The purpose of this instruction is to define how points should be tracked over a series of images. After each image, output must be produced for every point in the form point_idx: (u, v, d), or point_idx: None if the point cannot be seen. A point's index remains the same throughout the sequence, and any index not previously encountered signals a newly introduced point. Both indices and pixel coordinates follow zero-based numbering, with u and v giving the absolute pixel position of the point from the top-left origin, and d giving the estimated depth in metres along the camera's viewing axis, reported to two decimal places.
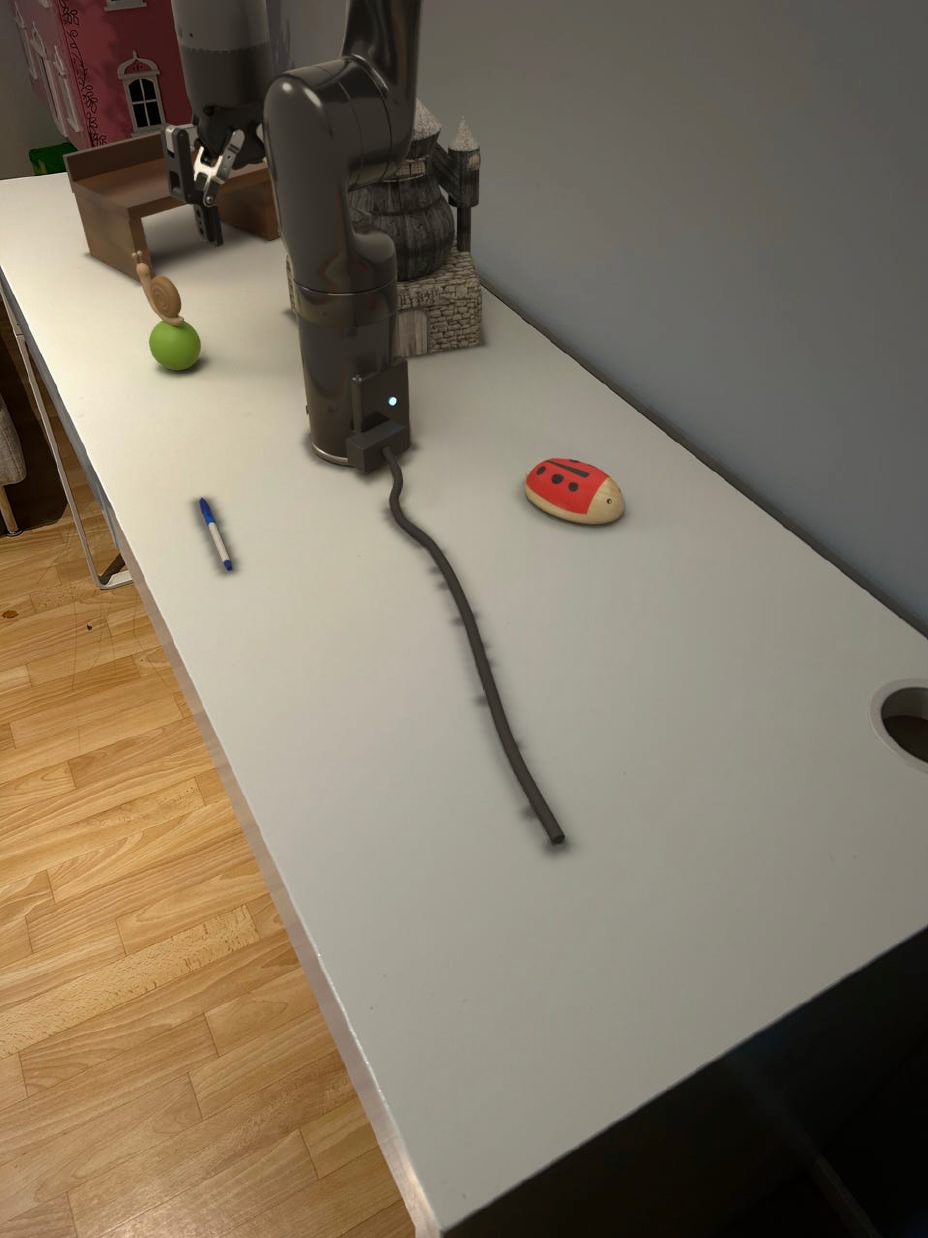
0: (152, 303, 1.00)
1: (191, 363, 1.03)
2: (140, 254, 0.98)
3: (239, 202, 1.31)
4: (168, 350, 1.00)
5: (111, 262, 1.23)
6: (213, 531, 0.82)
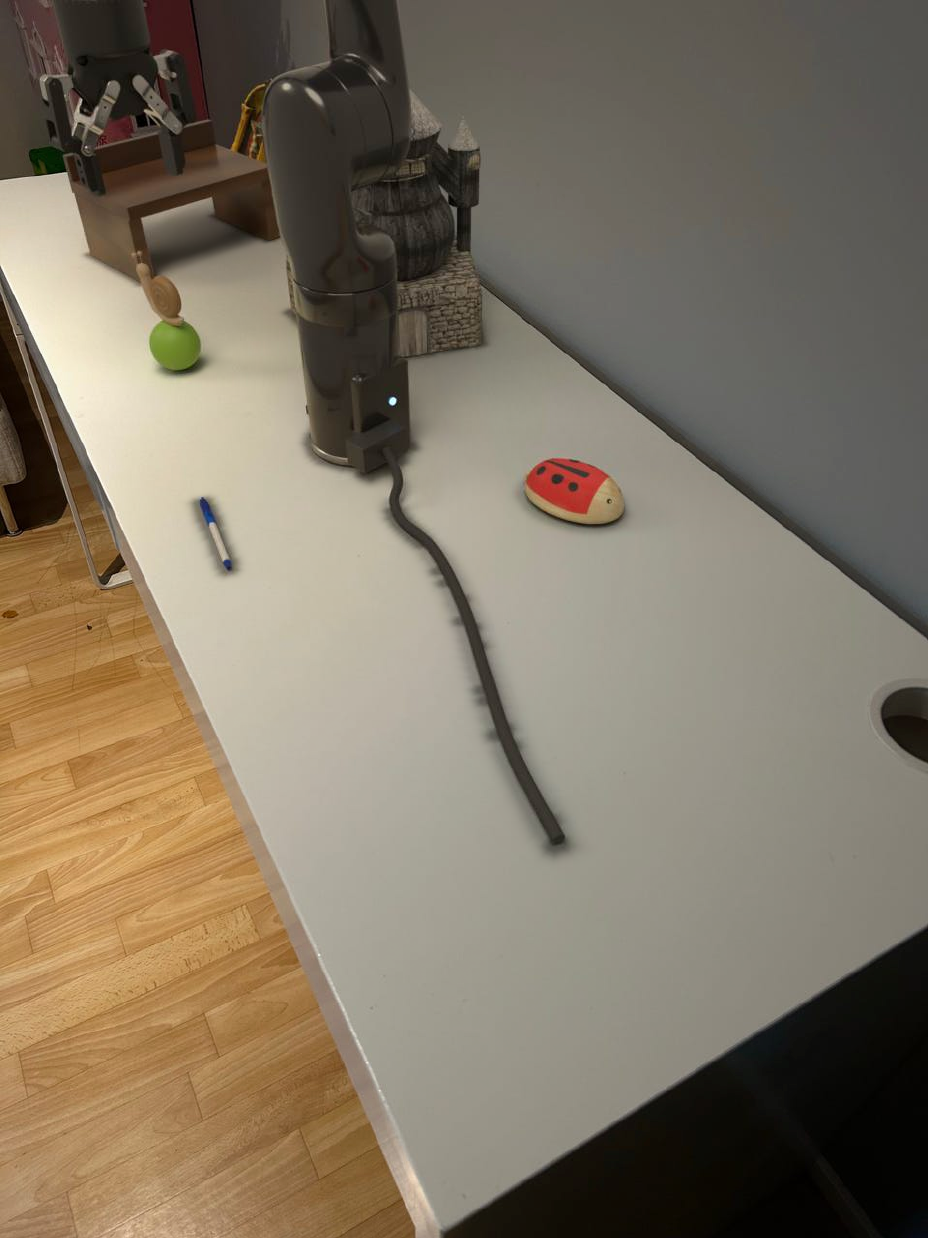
0: (152, 303, 1.00)
1: (191, 363, 1.03)
2: (140, 254, 0.98)
3: (239, 202, 1.31)
4: (168, 350, 1.00)
5: (111, 262, 1.23)
6: (213, 531, 0.82)
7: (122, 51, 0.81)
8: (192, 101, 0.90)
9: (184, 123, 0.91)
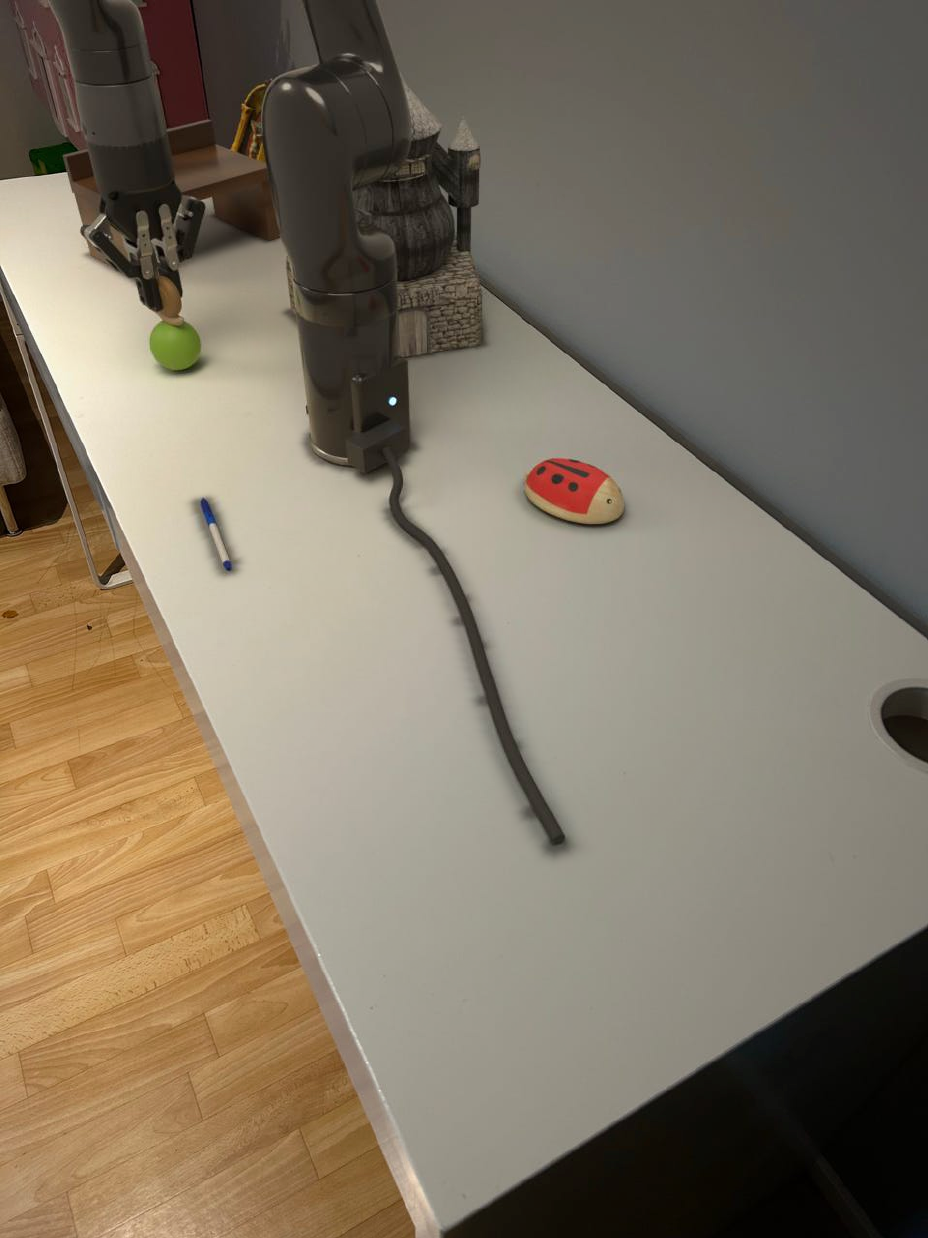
0: None
1: (191, 363, 1.03)
2: None
3: (239, 202, 1.31)
4: (168, 350, 1.00)
5: None
6: (213, 532, 0.82)
7: (150, 187, 0.89)
8: (195, 243, 0.97)
9: (182, 259, 0.98)
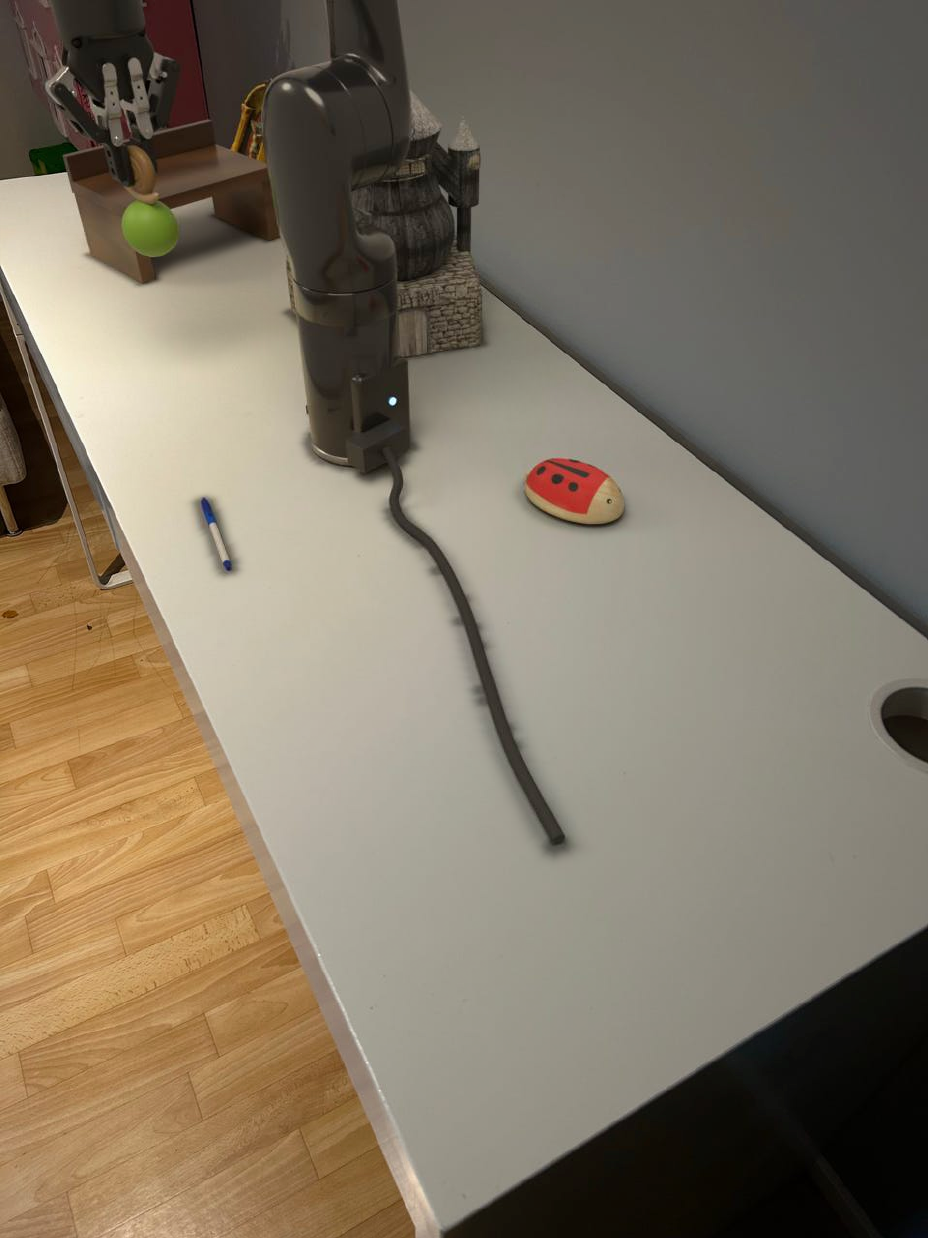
0: None
1: (168, 248, 0.94)
2: None
3: (239, 202, 1.31)
4: (142, 231, 0.91)
5: (111, 262, 1.23)
6: (214, 531, 0.82)
7: (117, 32, 0.80)
8: (169, 109, 0.89)
9: (155, 127, 0.89)
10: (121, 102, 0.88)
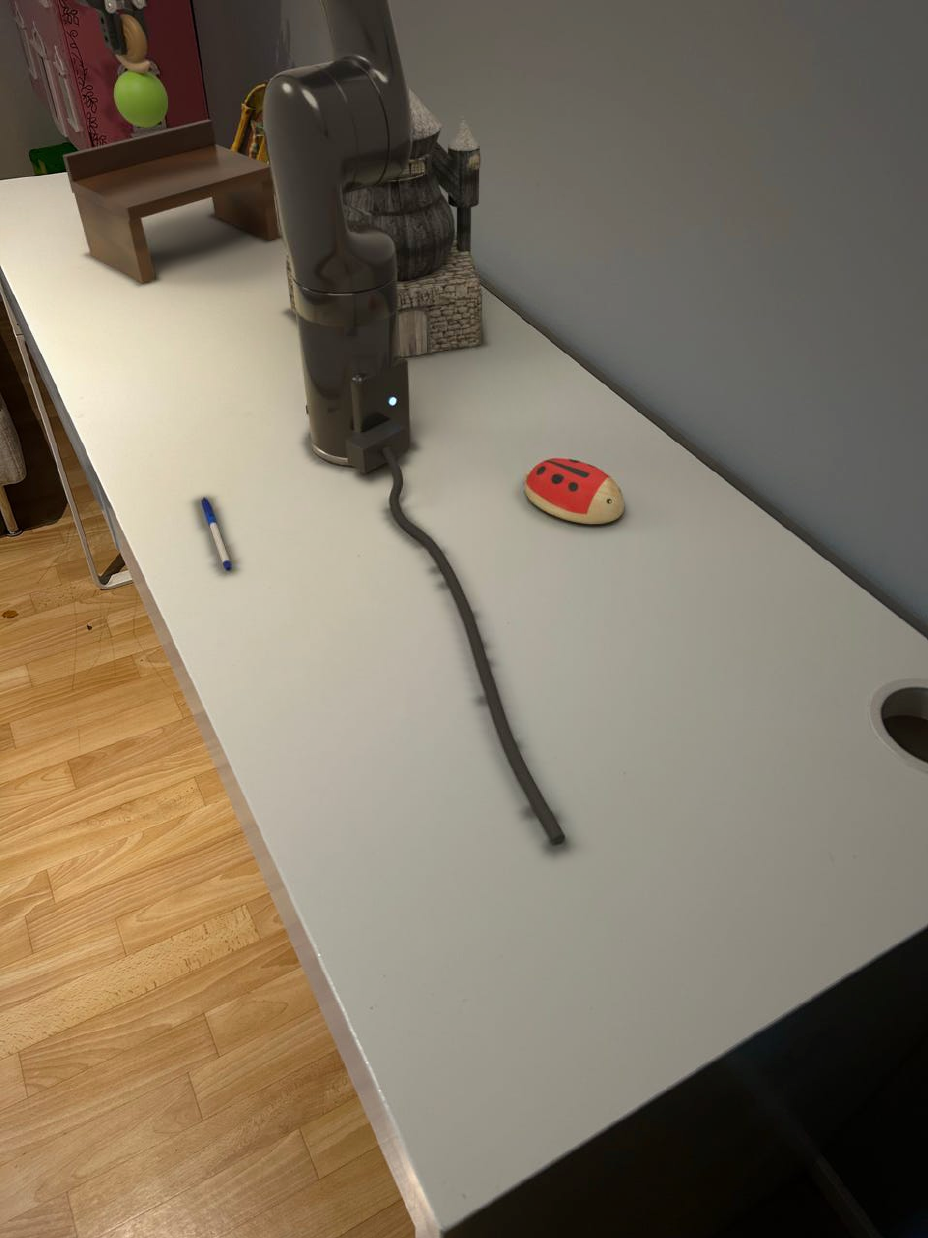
0: None
1: (158, 118, 0.99)
2: None
3: (239, 202, 1.31)
4: (134, 99, 0.97)
5: (111, 262, 1.23)
6: (214, 531, 0.82)
7: None
8: None
9: None
10: None
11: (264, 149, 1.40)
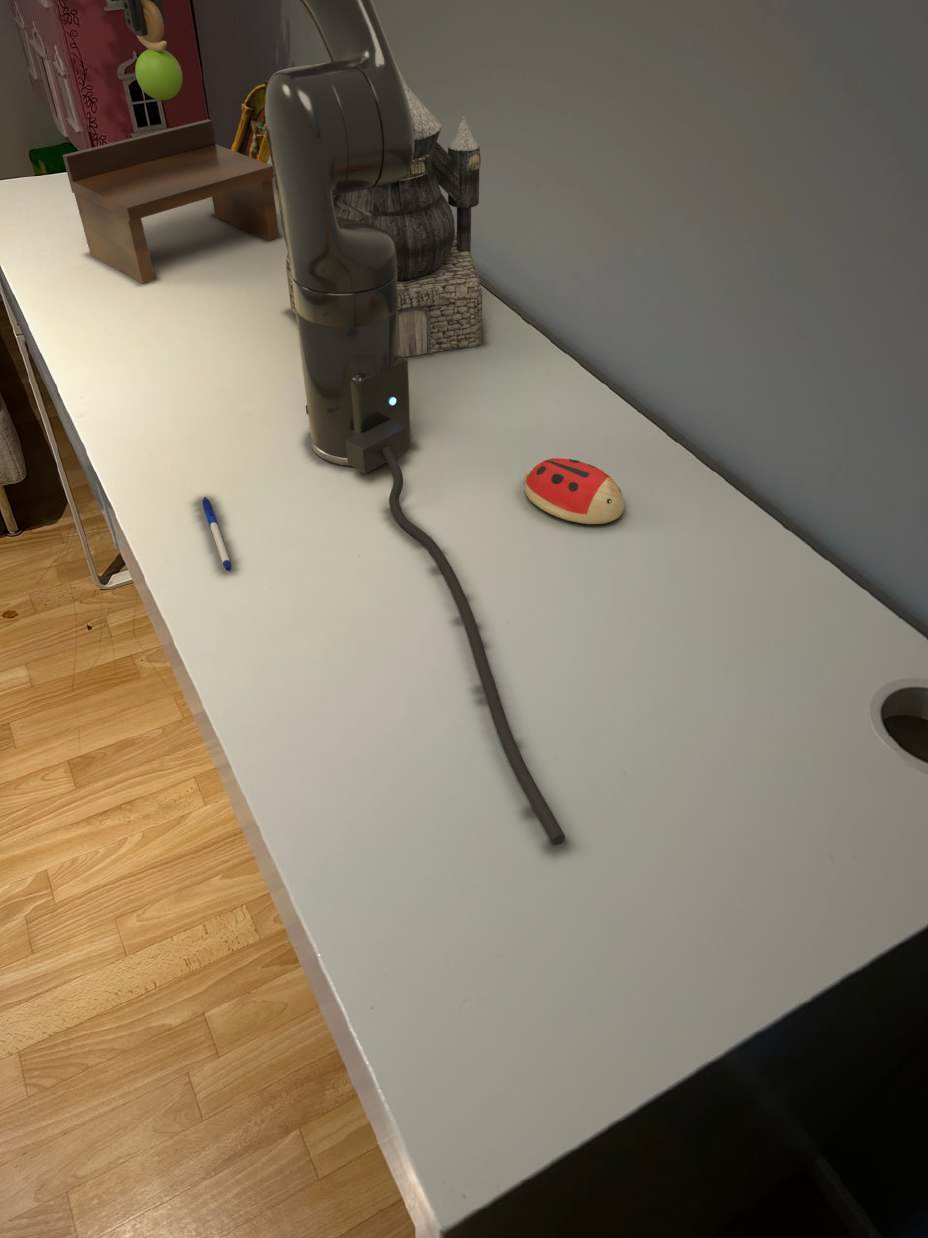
0: None
1: (174, 91, 1.13)
2: None
3: (239, 202, 1.31)
4: (153, 74, 1.11)
5: (111, 262, 1.23)
6: (214, 531, 0.82)
7: None
8: None
9: None
10: None
11: (264, 149, 1.40)
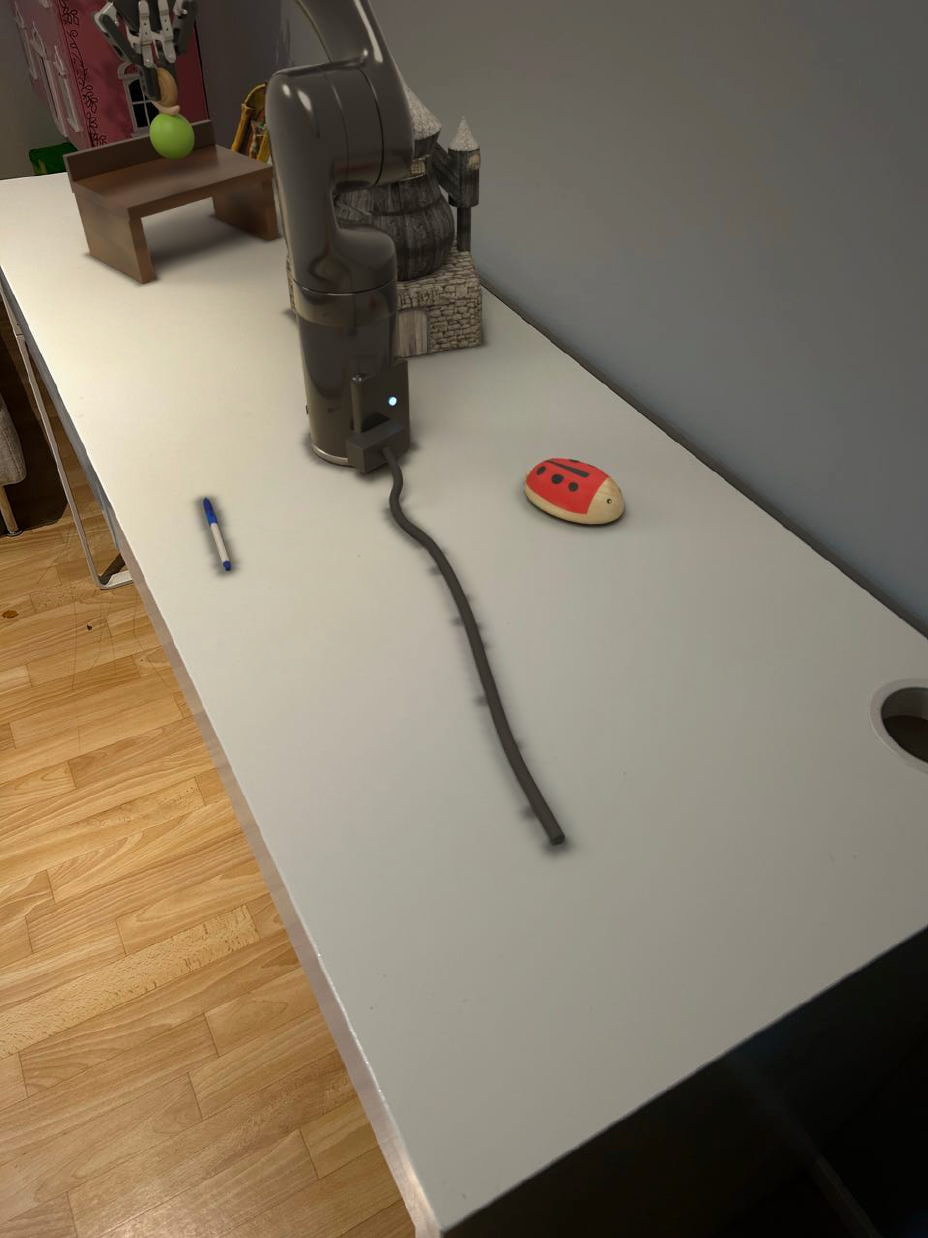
0: None
1: (186, 152, 1.19)
2: None
3: (239, 202, 1.31)
4: (166, 136, 1.16)
5: (111, 262, 1.23)
6: (214, 532, 0.82)
7: None
8: (188, 39, 1.13)
9: (177, 54, 1.14)
10: (151, 33, 1.12)
11: (264, 149, 1.40)
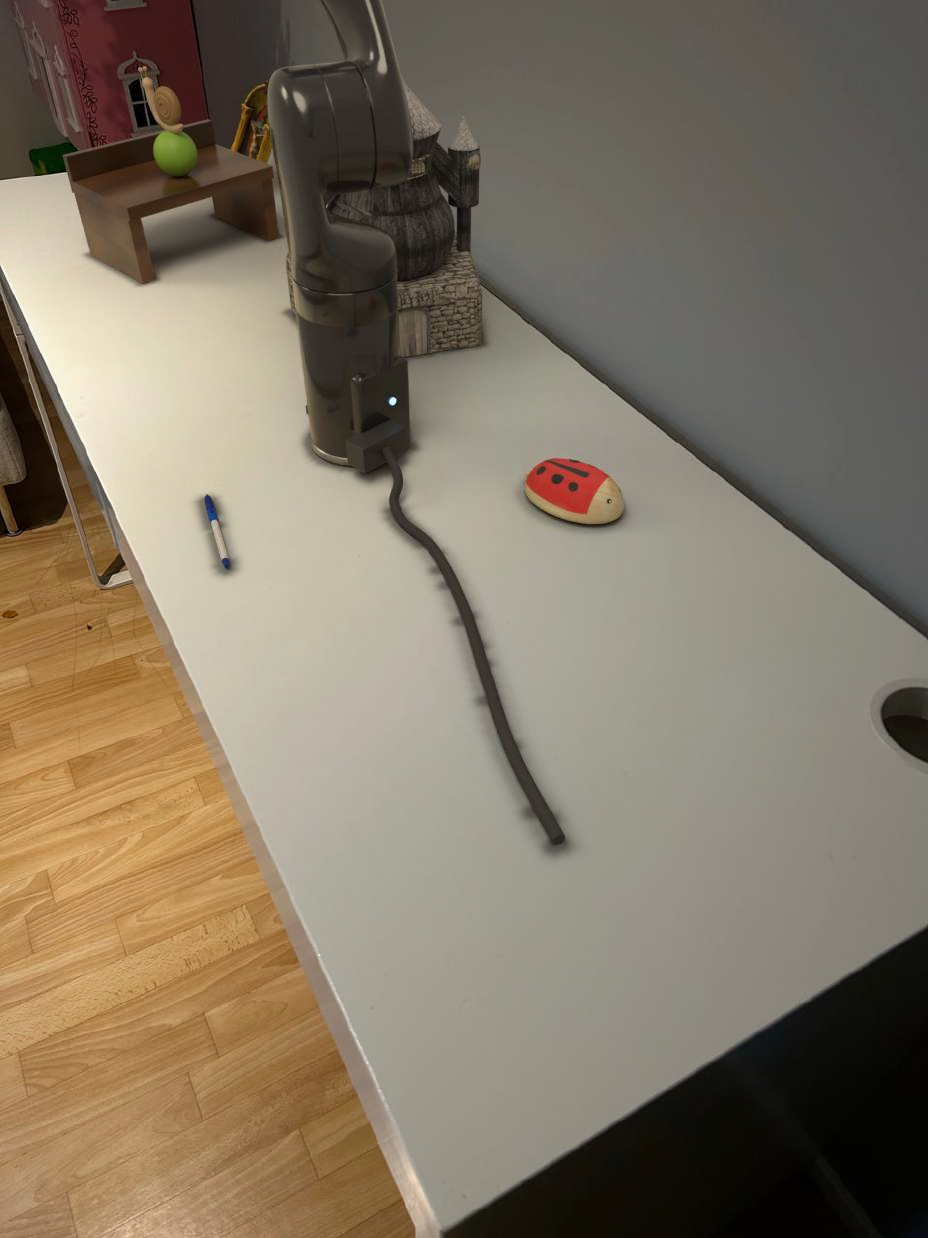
0: (155, 114, 1.18)
1: (189, 169, 1.20)
2: (145, 69, 1.15)
3: (239, 202, 1.31)
4: (170, 154, 1.18)
5: (111, 262, 1.23)
6: (215, 528, 0.82)
7: None
8: None
9: None
10: None
11: (264, 149, 1.40)
